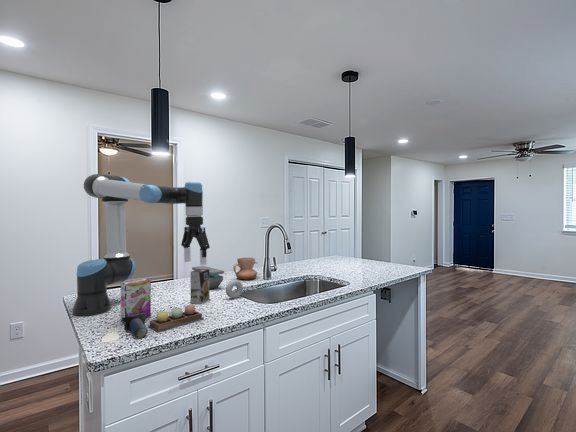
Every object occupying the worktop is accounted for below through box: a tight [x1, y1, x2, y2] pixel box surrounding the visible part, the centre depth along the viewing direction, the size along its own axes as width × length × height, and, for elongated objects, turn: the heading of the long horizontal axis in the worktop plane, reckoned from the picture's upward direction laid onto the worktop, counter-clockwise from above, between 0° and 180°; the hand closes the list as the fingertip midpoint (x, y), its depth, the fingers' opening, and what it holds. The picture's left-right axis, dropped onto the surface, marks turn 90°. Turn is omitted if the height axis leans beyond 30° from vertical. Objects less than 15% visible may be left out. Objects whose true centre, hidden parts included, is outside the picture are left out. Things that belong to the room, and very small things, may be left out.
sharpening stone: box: [191, 265, 225, 290], centre depth 193 cm, size 25×8×11 cm, turn 44°
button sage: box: [170, 307, 183, 318], centre depth 130 cm, size 4×4×3 cm
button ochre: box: [156, 311, 169, 321], centre depth 125 cm, size 4×4×3 cm
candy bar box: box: [120, 278, 152, 324], centre depth 135 cm, size 11×5×16 cm, turn 141°
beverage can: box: [121, 311, 149, 339], centre depth 120 cm, size 9×8×12 cm
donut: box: [225, 279, 244, 299], centre depth 167 cm, size 10×4×10 cm, turn 130°
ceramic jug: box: [232, 256, 259, 281], centre depth 215 cm, size 18×14×14 cm
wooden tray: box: [147, 310, 204, 333], centre depth 130 cm, size 9×20×2 cm, turn 137°
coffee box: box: [190, 269, 210, 305], centre depth 161 cm, size 9×6×16 cm
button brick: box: [184, 304, 196, 314], centre depth 134 cm, size 4×4×3 cm
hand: (195, 263), depth 141 cm, fingers open, 13 cm apart
